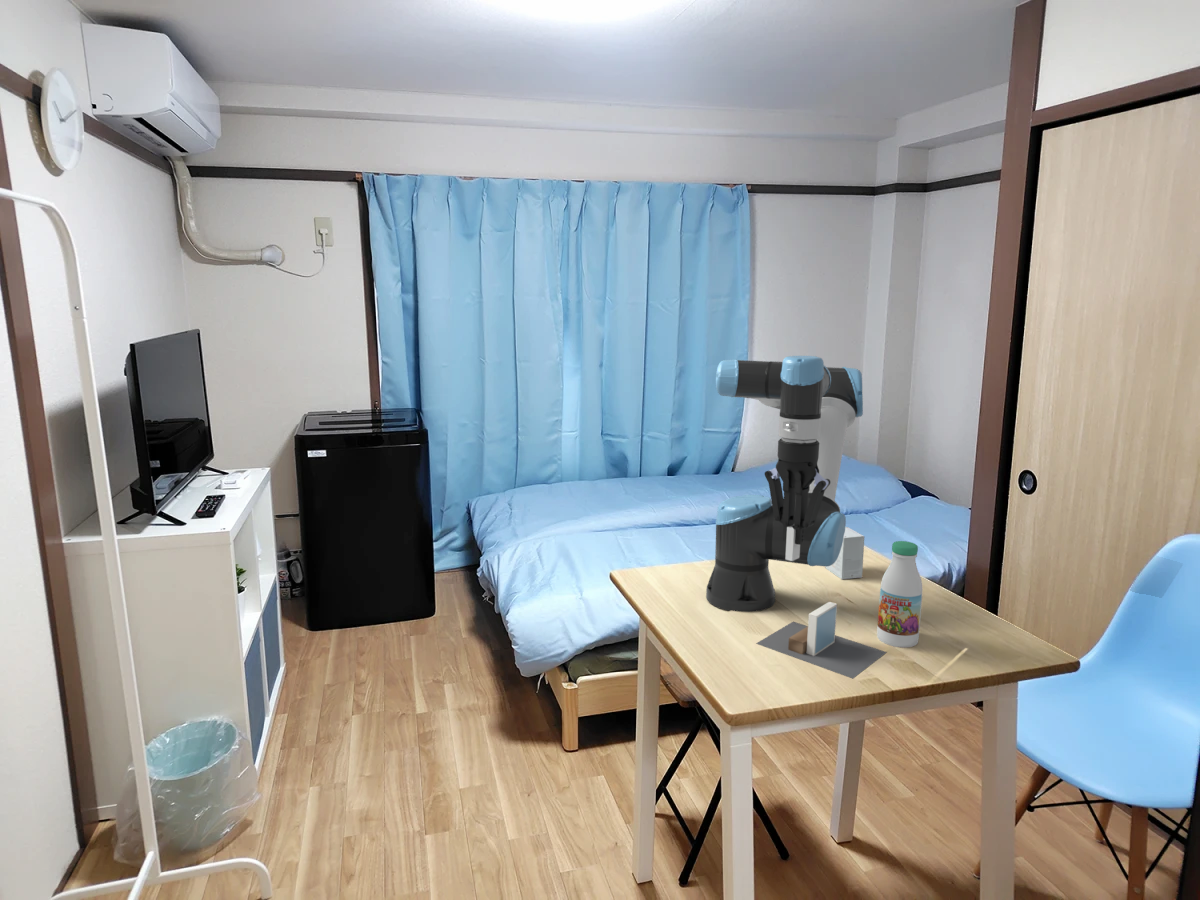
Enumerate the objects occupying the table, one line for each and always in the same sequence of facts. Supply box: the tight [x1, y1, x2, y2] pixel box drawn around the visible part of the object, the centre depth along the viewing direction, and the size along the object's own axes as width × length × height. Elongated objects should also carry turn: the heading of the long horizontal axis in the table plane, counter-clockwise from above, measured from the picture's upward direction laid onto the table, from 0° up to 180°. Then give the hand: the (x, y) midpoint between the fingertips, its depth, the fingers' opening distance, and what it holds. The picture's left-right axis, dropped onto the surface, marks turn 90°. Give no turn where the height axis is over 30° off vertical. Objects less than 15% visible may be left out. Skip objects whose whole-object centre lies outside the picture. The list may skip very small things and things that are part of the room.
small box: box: [825, 526, 865, 580], centre depth 188 cm, size 8×6×10 cm
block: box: [788, 625, 808, 655], centre depth 151 cm, size 3×10×2 cm, turn 136°
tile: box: [807, 601, 838, 656], centre depth 149 cm, size 2×8×8 cm, turn 136°
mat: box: [755, 621, 888, 679], centre depth 150 cm, size 20×14×1 cm
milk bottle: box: [876, 540, 923, 648], centre depth 152 cm, size 8×8×20 cm
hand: (792, 558), depth 151 cm, fingers closed
